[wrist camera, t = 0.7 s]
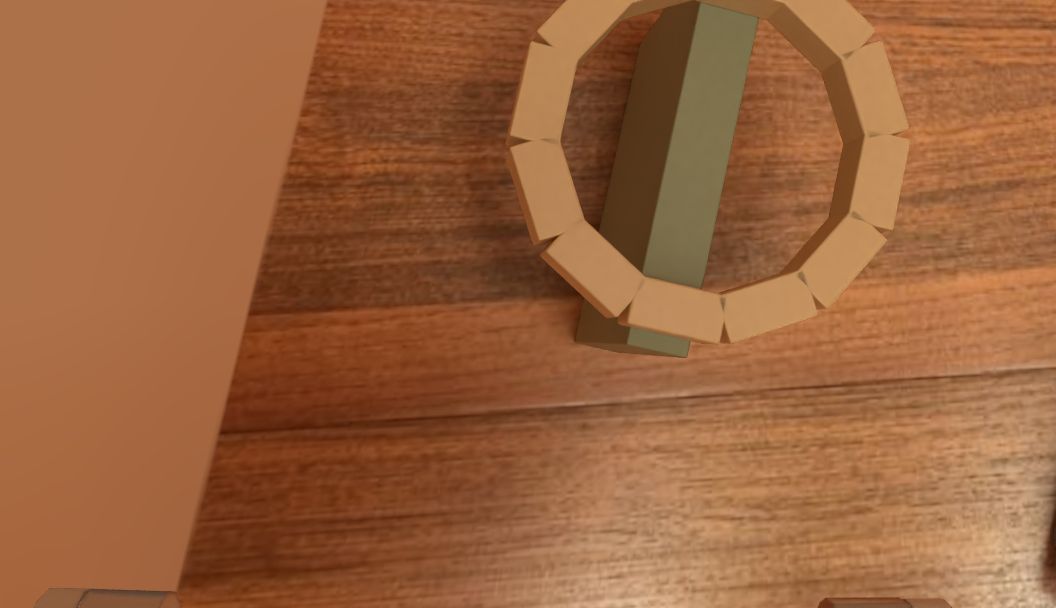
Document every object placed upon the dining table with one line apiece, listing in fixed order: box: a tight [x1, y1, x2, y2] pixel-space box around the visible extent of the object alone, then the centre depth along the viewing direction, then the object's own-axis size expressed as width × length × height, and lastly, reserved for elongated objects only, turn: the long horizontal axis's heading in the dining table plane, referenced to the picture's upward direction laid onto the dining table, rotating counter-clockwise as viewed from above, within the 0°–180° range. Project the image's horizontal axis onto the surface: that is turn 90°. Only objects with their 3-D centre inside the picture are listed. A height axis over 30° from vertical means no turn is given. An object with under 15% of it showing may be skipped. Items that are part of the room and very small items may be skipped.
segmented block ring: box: [505, 0, 910, 344], centre depth 28 cm, size 12×12×2 cm
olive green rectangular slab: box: [575, 0, 759, 358], centre depth 33 cm, size 2×13×10 cm, turn 167°
